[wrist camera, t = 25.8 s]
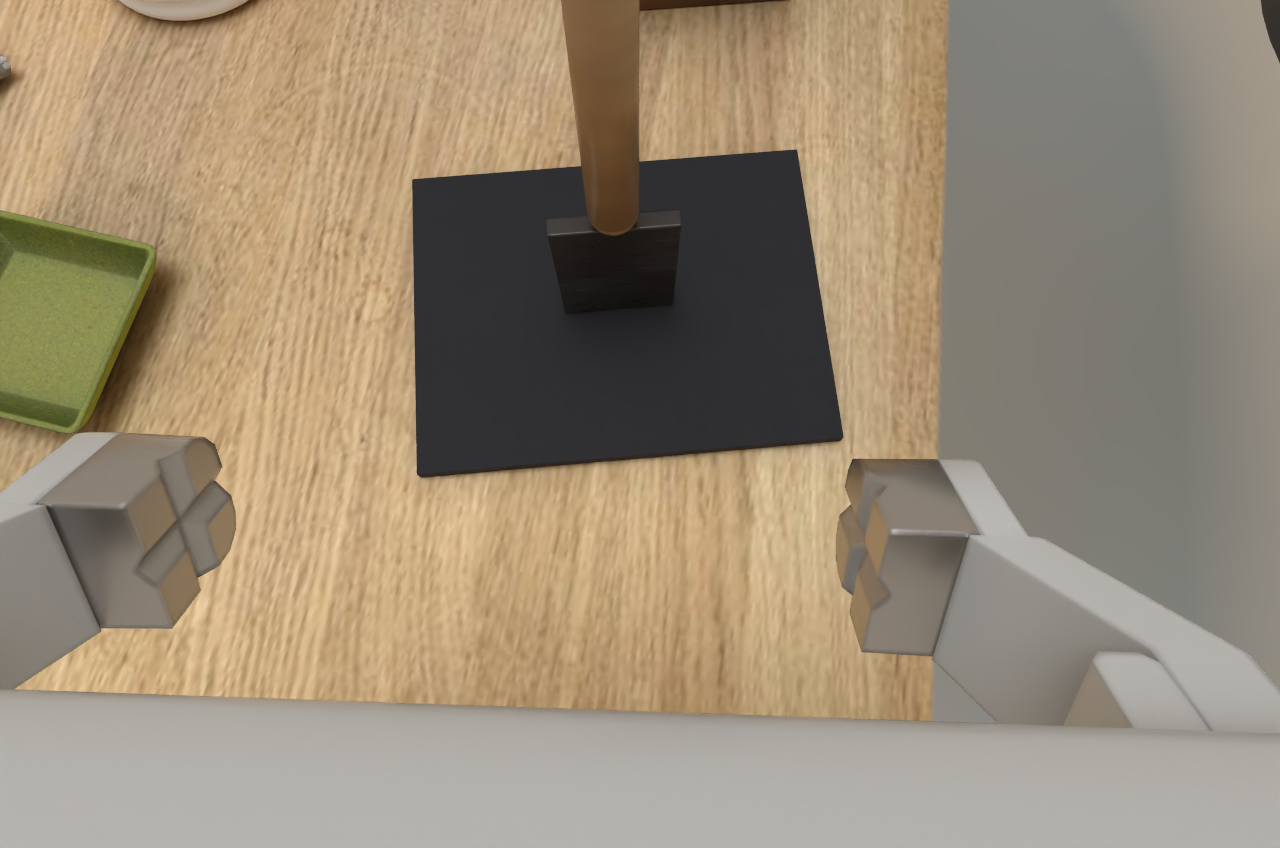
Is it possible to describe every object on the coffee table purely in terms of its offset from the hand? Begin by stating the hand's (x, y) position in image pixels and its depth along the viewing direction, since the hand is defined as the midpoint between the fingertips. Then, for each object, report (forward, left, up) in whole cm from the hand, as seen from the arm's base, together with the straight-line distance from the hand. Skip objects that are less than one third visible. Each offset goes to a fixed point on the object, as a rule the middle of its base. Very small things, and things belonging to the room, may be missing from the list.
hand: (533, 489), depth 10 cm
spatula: (-2, -12, -22) cm, 25 cm away
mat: (-2, -12, -22) cm, 26 cm away
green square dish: (+23, -13, -23) cm, 35 cm away
